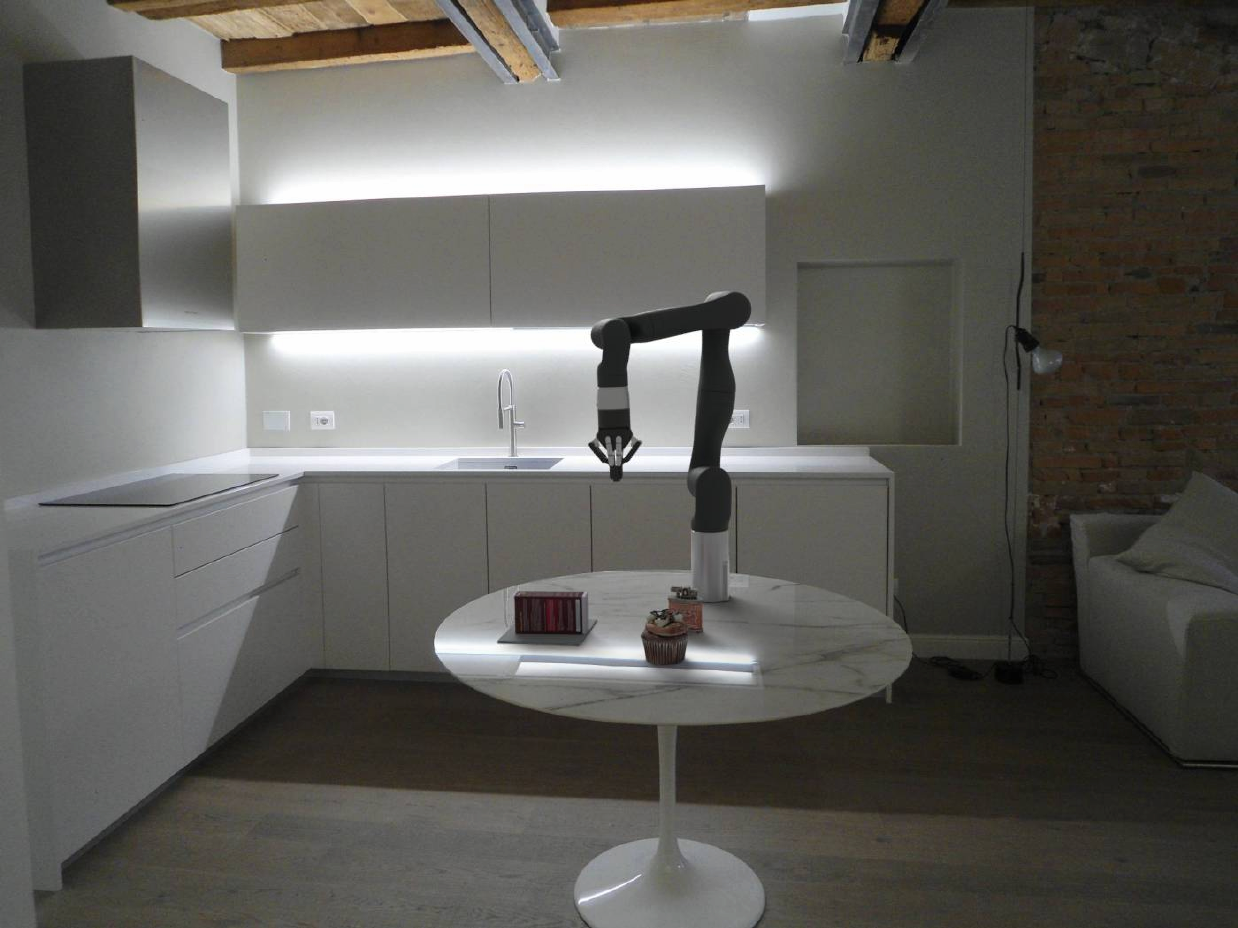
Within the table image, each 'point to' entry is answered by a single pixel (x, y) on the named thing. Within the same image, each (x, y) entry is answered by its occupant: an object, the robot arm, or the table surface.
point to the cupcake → (665, 638)
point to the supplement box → (551, 612)
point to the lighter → (687, 607)
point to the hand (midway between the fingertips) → (616, 481)
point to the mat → (544, 637)
